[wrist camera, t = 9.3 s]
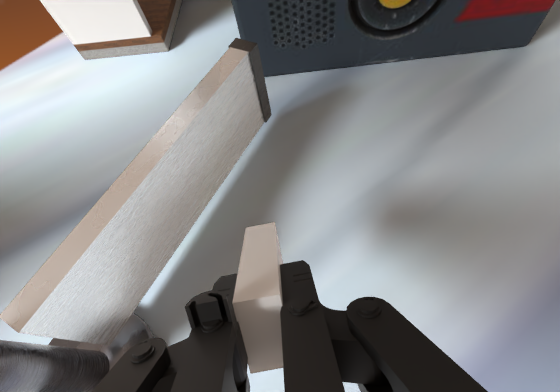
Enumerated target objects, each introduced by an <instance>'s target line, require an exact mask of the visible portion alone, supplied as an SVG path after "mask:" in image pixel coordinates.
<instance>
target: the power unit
mask: <svg viewBox="0 0 560 392" xmlns="http://www.w3.org/2000/svg"><path fill="white" fill-rule="evenodd" d="M554 2H555V0H232V5H233V9H234V13H235V17H236V21H237V25H238V29H239V33H240V37H241V39H242V40H246V41H250V42H254V43H258V48H259V53H260V59H261V64H262V69H263V74H264V77H266V76H275V75H283V74H292V73H300V72H309V71H317V70H326V69H334V68H343V67H351V66H360V65H368V64H377V63H385V62H394V61H402V60H411V59H419V58H428V57H437V56H445V55H454V54H462V53H471V52H479V51H488V50H496V49H505V48H513V47H522V46H525V45H527V44H528V43H529V42H530V41H531V39H532V37H533V36H534V34H535V33H536V31H537V29H538V28H539V26H540V25H541V23H542V21H543V20H544V18H545V16H546V15H547V13H548V12H549V10H550V8H551V7H552V5H553V4H554Z"/></svg>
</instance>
